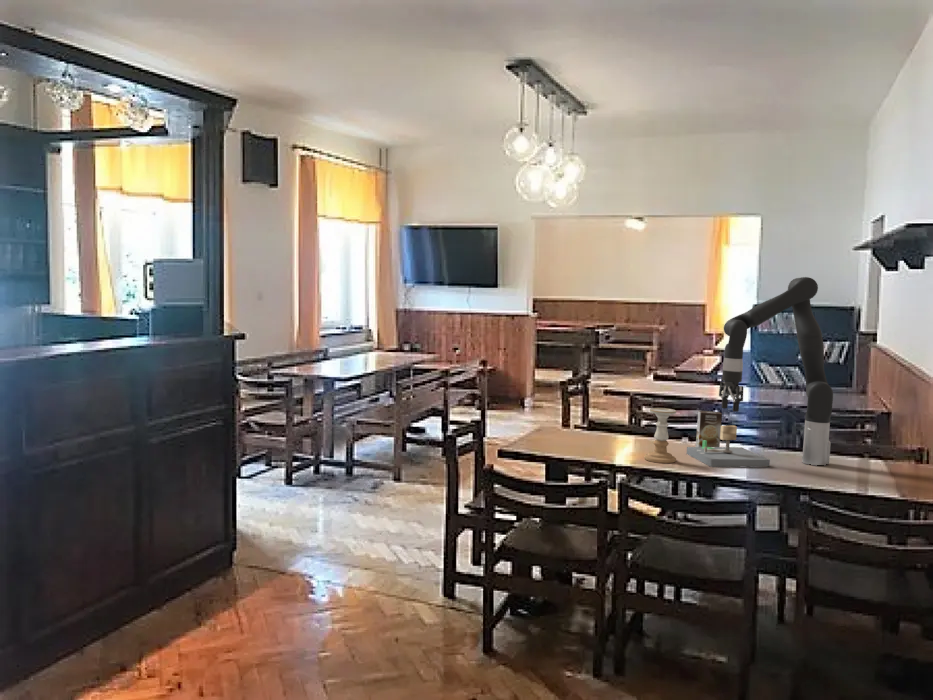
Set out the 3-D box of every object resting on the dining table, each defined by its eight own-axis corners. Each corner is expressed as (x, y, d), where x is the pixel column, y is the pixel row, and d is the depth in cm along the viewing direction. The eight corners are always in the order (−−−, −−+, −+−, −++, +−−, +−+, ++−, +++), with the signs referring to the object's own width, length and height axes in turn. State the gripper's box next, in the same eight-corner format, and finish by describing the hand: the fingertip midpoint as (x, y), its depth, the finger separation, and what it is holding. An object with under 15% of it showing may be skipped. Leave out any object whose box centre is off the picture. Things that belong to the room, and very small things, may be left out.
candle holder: (652, 463, 335) (655, 412, 334) (639, 457, 347) (641, 407, 346) (681, 463, 338) (684, 412, 337) (667, 456, 350) (670, 407, 349)
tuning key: (731, 451, 349) (733, 425, 348) (736, 453, 345) (738, 426, 344) (702, 451, 346) (703, 425, 345) (707, 453, 342) (708, 427, 342)
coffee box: (697, 449, 367) (700, 412, 366) (695, 447, 374) (697, 410, 372) (719, 451, 366) (722, 413, 365) (717, 448, 373) (719, 411, 371)
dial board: (741, 454, 360) (742, 440, 360) (769, 467, 337) (770, 452, 336) (686, 454, 357) (687, 439, 356) (711, 466, 333) (711, 451, 333)
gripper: (750, 371, 338) (747, 412, 339) (731, 367, 352) (729, 407, 353) (733, 371, 336) (730, 412, 337) (715, 367, 350) (712, 407, 351)
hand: (729, 409), depth 345 cm, fingers open, 8 cm apart
